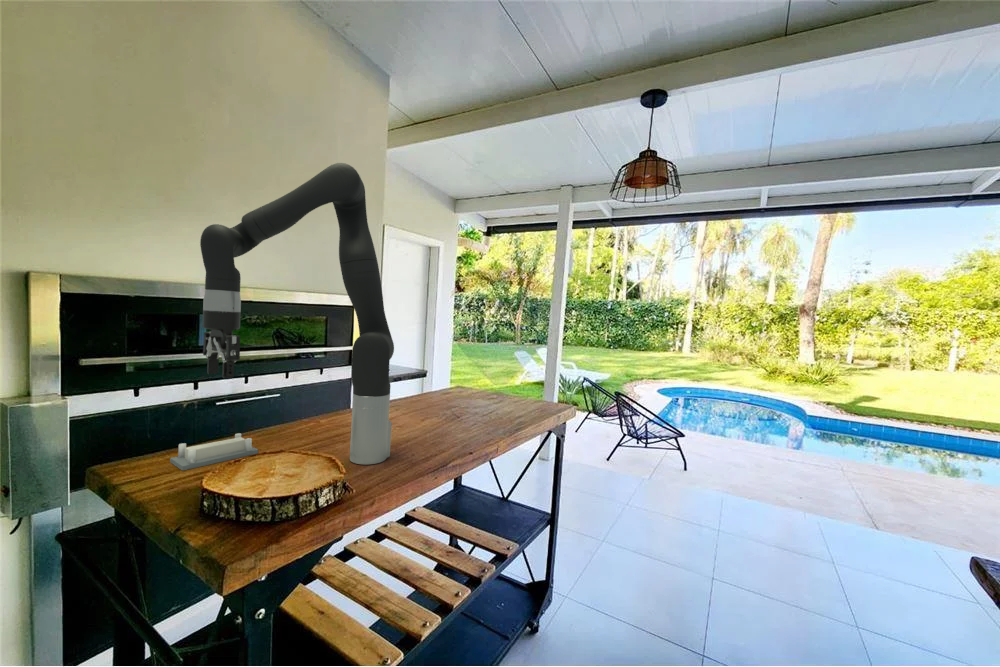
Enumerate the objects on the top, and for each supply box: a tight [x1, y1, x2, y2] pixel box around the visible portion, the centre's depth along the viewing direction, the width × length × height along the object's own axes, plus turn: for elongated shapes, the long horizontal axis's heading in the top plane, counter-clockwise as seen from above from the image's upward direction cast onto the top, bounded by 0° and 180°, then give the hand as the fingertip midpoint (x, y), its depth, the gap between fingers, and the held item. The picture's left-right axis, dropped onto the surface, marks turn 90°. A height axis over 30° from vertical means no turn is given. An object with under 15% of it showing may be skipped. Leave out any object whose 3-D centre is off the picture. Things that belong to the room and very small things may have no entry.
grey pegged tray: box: [169, 432, 259, 472], centre depth 99 cm, size 16×8×4 cm, turn 146°
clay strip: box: [185, 436, 246, 460], centre depth 99 cm, size 12×3×2 cm, turn 146°
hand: (220, 375), depth 98 cm, fingers open, 8 cm apart
